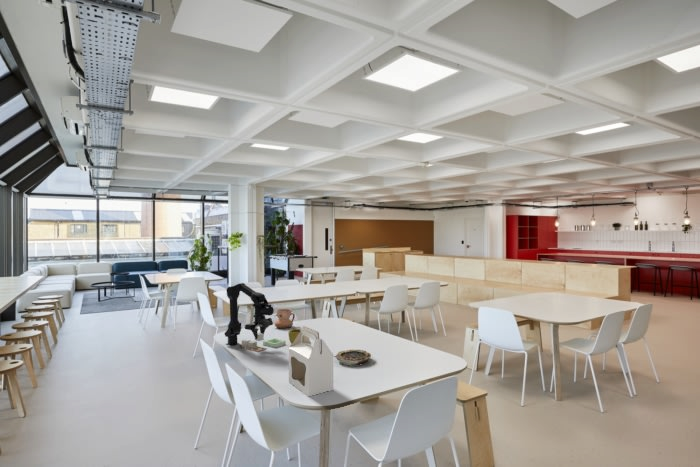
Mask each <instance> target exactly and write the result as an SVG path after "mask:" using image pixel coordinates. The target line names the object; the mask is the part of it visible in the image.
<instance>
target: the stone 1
mask: <svg viewBox="0 0 700 467" xmlns="http://www.w3.org/2000/svg"><path fill="white" fill-rule="evenodd" d="M250 341H251V340H250V339H248V338H247V339H243V340H241V345H242V347H245V348H246V347H248V342H250Z"/></svg>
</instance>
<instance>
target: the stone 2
mask: <svg viewBox="0 0 700 467" xmlns="http://www.w3.org/2000/svg"><path fill="white" fill-rule="evenodd" d="M264 335H265V333H264V334H263V333H260V332H257V339H256V338H255V337H254V340H255V341H256V342H261V341H265V339H264V338H265V336H264Z"/></svg>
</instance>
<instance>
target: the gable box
mask: <svg viewBox="0 0 700 467" xmlns="http://www.w3.org/2000/svg"><path fill="white" fill-rule="evenodd" d="M299 329H300V333H299V334H298V335H297V337H296V338H295V340H294V341H293V343H292V344H291V343H290V346H289V347H288V383H289V384H291V385H292V386H293V385H294V386H293V387H295V388H296V389H298V391H300V390H301V391H300V392H301V393H303V394H304V395H306V396H307V395H308V396H307V397H309V396H310V397H313V396H312V395H314V396H317V395H316V394H318V395H320V394H319V393H321V394H324V393H323V392H325V393H327V392H326V391H329V392H331V391H330V390H333V391H334V358H333V357H334V352H332V351H331V349H330V348H329V346H328V345H327V343H326V342H325V340H324V339H323V338H320V333H319V331H317V330H314V329H312V328H310V327H308V326H307V327H306V326H305V325H303V326H302V327H301V328H299ZM310 339H311V340H313V341H314V343H312V342H311V340H310Z"/></svg>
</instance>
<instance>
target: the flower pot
mask: <svg viewBox="0 0 700 467" xmlns="http://www.w3.org/2000/svg"><path fill="white" fill-rule="evenodd" d="M300 329H301V328H299V329H298V328H296V329H294V328H291V330H289V331H288V339H289V342H290V345H291V344H292V343H293V341H294V340H295V338H296V337H297V335H298V334H299V333H300Z"/></svg>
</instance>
